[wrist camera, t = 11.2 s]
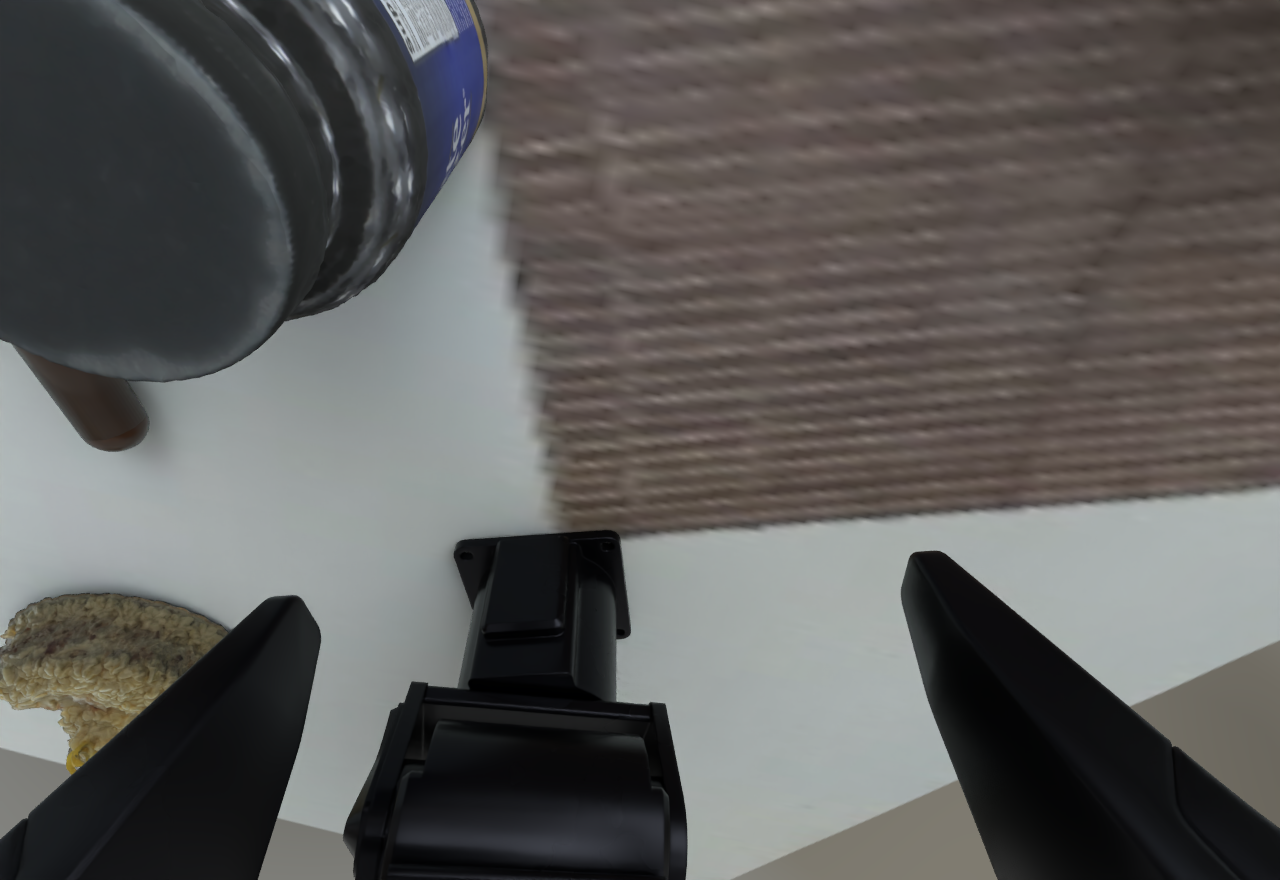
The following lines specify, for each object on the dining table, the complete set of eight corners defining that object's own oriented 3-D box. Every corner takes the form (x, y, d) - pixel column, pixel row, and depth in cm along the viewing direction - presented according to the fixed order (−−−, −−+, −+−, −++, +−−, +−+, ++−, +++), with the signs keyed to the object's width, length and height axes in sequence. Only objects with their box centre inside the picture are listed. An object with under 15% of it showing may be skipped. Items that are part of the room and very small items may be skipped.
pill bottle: (397, 227, 18) (204, 501, 10) (175, 41, 16) (-374, 196, 7) (547, 53, 16) (467, 216, 7) (317, -205, 13) (-261, -442, 4)
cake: (188, 559, 27) (124, 677, 23) (302, 689, 34) (267, 800, 29) (-50, 604, 27) (-158, 730, 23) (108, 725, 34) (46, 841, 29)
